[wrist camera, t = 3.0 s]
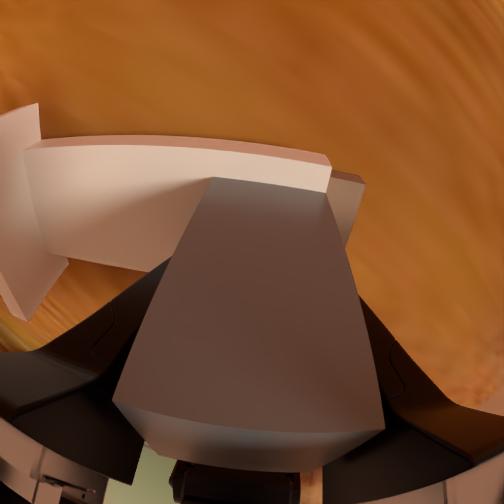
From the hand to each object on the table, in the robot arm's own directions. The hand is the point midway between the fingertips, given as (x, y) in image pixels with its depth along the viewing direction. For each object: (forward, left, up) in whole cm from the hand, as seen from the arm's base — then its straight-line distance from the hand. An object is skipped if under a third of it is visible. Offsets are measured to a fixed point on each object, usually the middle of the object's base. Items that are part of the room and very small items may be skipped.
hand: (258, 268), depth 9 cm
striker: (0, +6, -4) cm, 7 cm away
